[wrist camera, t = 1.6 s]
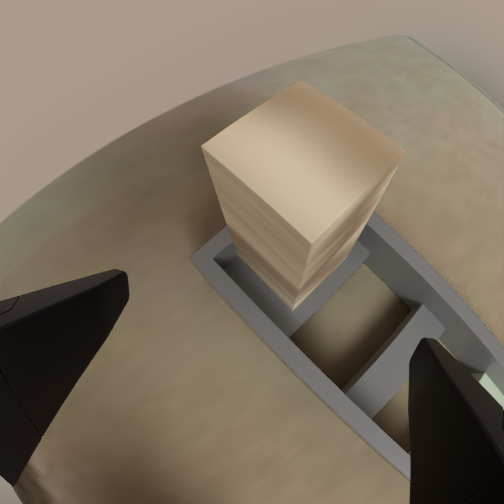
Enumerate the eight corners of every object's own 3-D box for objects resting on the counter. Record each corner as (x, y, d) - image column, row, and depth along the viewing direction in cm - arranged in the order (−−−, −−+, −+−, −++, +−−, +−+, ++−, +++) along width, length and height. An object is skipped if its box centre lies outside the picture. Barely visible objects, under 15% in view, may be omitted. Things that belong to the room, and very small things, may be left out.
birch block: (291, 311, 19) (311, 243, 9) (237, 256, 20) (200, 146, 10) (346, 257, 20) (404, 151, 10) (291, 208, 21) (300, 80, 11)
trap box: (443, 509, 14) (470, 528, 10) (205, 279, 22) (188, 258, 18) (517, 413, 16) (551, 415, 12) (303, 192, 24) (308, 157, 20)
